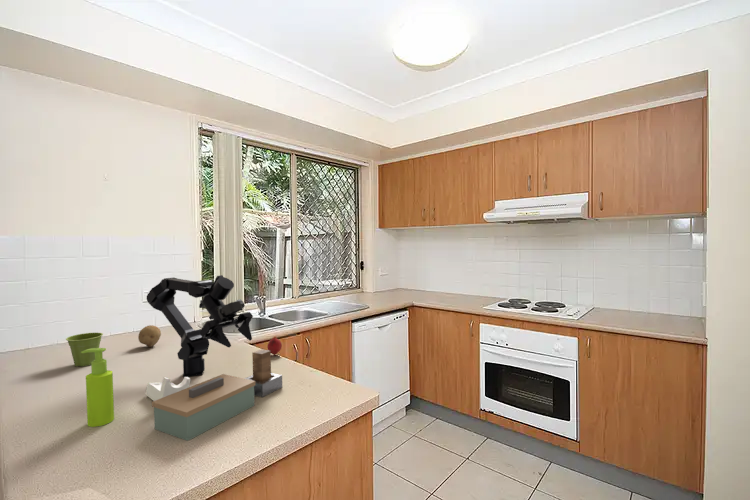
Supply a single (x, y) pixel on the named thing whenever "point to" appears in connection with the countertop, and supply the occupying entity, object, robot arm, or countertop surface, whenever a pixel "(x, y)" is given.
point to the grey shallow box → (267, 385)
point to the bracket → (165, 388)
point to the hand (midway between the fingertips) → (241, 343)
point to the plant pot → (84, 347)
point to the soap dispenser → (99, 391)
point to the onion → (274, 345)
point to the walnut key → (261, 365)
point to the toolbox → (203, 406)
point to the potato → (149, 335)
